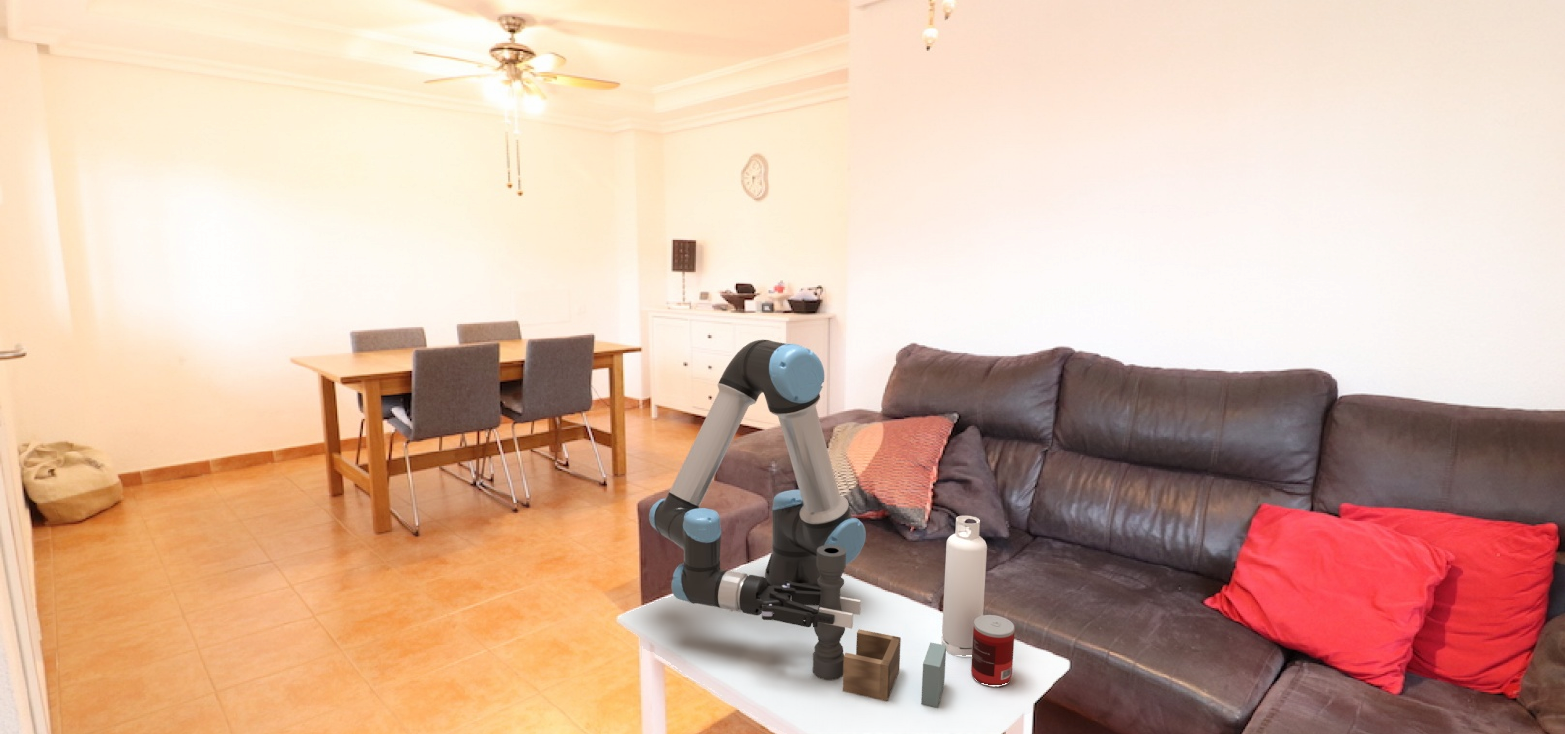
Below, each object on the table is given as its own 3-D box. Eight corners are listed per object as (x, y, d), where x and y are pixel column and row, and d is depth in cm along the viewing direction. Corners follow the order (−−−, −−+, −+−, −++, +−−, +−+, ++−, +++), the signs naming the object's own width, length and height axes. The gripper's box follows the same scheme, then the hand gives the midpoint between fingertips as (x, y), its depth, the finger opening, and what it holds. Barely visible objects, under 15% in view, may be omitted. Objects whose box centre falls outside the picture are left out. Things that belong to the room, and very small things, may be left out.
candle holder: (842, 681, 141) (845, 558, 138) (810, 677, 143) (813, 555, 139) (845, 664, 147) (849, 545, 144) (815, 660, 149) (818, 543, 145)
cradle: (842, 691, 138) (843, 656, 137) (857, 661, 149) (858, 629, 148) (887, 701, 135) (888, 665, 134) (899, 670, 146) (900, 637, 145)
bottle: (935, 648, 154) (941, 520, 150) (951, 633, 160) (957, 510, 156) (971, 661, 149) (979, 529, 145) (986, 645, 156) (994, 518, 151)
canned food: (1010, 668, 147) (1014, 617, 145) (1012, 691, 139) (1015, 637, 137) (971, 662, 149) (974, 611, 147) (970, 684, 141) (973, 631, 140)
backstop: (921, 704, 135) (923, 663, 134) (928, 680, 142) (930, 642, 141) (937, 707, 134) (939, 666, 132) (944, 684, 141) (946, 645, 140)
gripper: (761, 592, 158) (867, 611, 150) (726, 631, 141) (842, 655, 133) (762, 558, 157) (868, 576, 149) (726, 594, 140) (843, 616, 132)
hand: (856, 614), depth 141 cm, fingers closed on candle holder, 5 cm apart
